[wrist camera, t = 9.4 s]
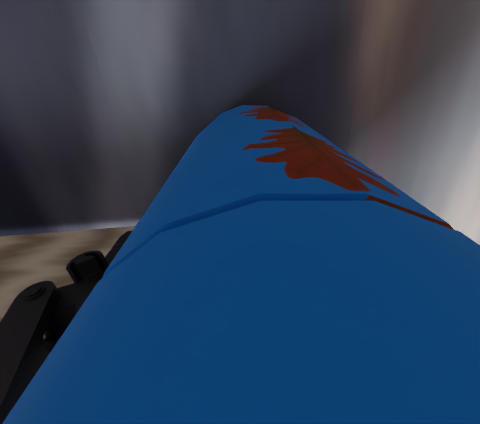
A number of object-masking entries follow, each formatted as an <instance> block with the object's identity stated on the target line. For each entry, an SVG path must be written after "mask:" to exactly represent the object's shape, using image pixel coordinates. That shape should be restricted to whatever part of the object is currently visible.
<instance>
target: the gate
mask: <svg viewBox="0 0 480 424" xmlns="http://www.w3.org/2000/svg"><path fill="white" fill-rule="evenodd" d="M135 227H136V226H133V227H120V228H106V229H93V230H79V231H66V232H52V233H39V234H25V235H12V236H0V322H1V320H2V319H3V317H4V315H5V314H6V312H7V310H8V309H9V307H10V305H11V304H12V302H13V301H14V299H15V298H16V296H17V295H18V294H19V293H20V292H22V291H23V290H24V289H25V288H27V287H29V286H30V285H33V284H35V283H38V282H41V281H52V282H53V283H54V284H55V286H56V287H57V288H59V287H62V286H66V285H69V284H73V283H74V281H73V280H72V278H71V276H70V275H69V273H68V271H67V270H66V266H67V264H68V263H69V262H70V261H71V260H72V259H73V258H75V257H76V256H78V255H80V254H82V253H84V252H88V251H95V250H97V251H101V252H102V254H103V255H104V257H105V256H106V255H107V254H108V252H109V251H110V250H111V248H112V247H113V245H114V244H115V243H116V241H117V240H118V238H119V237H120V236H121V235H123V234H124V233H125V232H127V231H132V230H134V228H135Z"/></svg>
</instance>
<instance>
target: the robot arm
mask: <svg viewBox="0 0 480 424" xmlns="http://www.w3.org/2000/svg"><path fill="white" fill-rule="evenodd" d="M132 231H133V230H132ZM132 231H127V232H125V233H124V234H123V235H121V236H120V237H119V238H118V240H117V241H116V243H115V244H114V245H113V247H112V248H111V250H110V251H109V252H108V254H107V255H106V256H105V257H104V255H103V254H102V252H101V251H97V250H95V251H88V252H84V253H82V254H80V255H78V256H76V257H75V258H73V259H72V260H71V261H70V262H69V263H68V264H67V266H66V270H67V271H68V273H69V275H70V276H71V278H72V280H73V281H74V283H73V284H69V285H66V286H62V287H59V288H57V287H56V286H55V284H54V283H53V282H52V281H41V282H38V283H35V284H33V285H30V286H29V287H27V288H25V289H24V290H23V291H22V292H20V293H19V294H18V295H17V296H16V298H15V299H14V301H13V302H12V304H11V305H10V307H9V309H8V310H7V312H6V314H5V315H4V317H3V319H2V320H1V322H0V424H2V423H3V422H4V420H5V419H6V417H7V416H8V414H9V413H10V411H11V410H12V408H13V407H14V406H15V404H16V403H17V401H18V400H19V398H20V397H21V395H22V394H23V392H24V391H25V389H26V388H27V386H28V385H29V383H30V382H31V380H32V379H33V377H34V376H35V374H36V373H37V372H38V370H39V369H40V367H41V366H42V364H43V363H44V361H45V360H46V358H47V357H48V355H49V354H50V352H51V351H52V349H53V348H54V346H55V345H56V343H57V342H58V340H59V339H60V337H61V336H62V335H63V333H64V332H65V330H66V329H67V327H68V326H69V324H70V323H71V321H72V320H73V318H74V317H75V315H76V314H77V312H78V311H79V309H80V308H81V306H82V305H83V303H84V302H85V301H86V299H87V298H88V296H89V295H90V293H91V292H92V290H93V289H94V287H95V286H96V284H97V283H98V282H99V281H100V280H101V279H102V277H103V275H104V273H105V271H106V269H107V268H108V266H109V265H110V264H111V262H112V261H113V259H114V258H115V256H116V255H117V253H118V252H119V250H120V249H121V247H122V246H123V244H124V243H125V241H126V240H127V238H128V237H129V235H130V234H131V232H132Z"/></svg>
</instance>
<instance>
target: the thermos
mask: <svg viewBox="0 0 480 424" xmlns="http://www.w3.org/2000/svg"><path fill="white" fill-rule="evenodd" d="M2 424H480V245H478V244H477V243H475V242H474V241H473V240H471V239H470V238H468V237H467V236H465V235H464V234H462V233H461V232H459V231H456V230H454V229H453V228H452V227H451V226H450V225H449V224H448V223H447V222H445V221H444V220H442V219H441V218H440V217H438V216H437V215H435V214H434V213H432V212H431V211H429V210H428V209H427V208H425V207H424V206H422V205H421V204H419V203H418V202H417V201H415V200H414V199H412V198H411V197H409V196H408V195H407V194H405V193H404V192H402V191H401V190H399V189H398V188H396V187H395V186H394V185H392V184H391V183H389V182H388V181H386V180H385V179H384V178H382V177H381V176H379V175H378V174H376V173H375V172H374V171H372V170H371V169H369V168H368V167H366V166H365V165H363V164H362V163H361V162H359V161H358V160H356V159H355V158H353V157H352V156H351V155H349V154H348V153H346V152H345V151H343V150H342V149H341V148H339V147H338V146H336V145H335V144H333V143H332V142H330V141H329V140H328V139H326V138H325V137H323V136H322V135H320V134H319V133H318V132H316V131H315V130H313V129H312V128H310V127H309V126H308V125H306V124H305V123H303V122H302V121H300V120H299V119H297V118H295V117H293V116H290V115H288V114H286V113H283V112H281V111H278V110H276V109H273V108H271V107H269V106H266V105H241V106H238V107H236V108H233V109H231V110H228V111H226V112H223V113H221V114H220V115H219V116H218V117H217V118H216V119H215V120H213V121H212V122H211V123H210V124H209V125H208V126H207V127H206V128H205V129H204V130H203V131H202V132H201V133H199V134H198V135H197V136H196V138H195V139H194V141H193V142H192V144H191V145H190V147H189V148H188V150H187V151H186V153H185V154H184V156H183V157H182V159H181V160H180V161H179V163H178V164H177V166H176V167H175V169H174V170H173V172H172V173H171V175H170V176H169V178H168V179H167V181H166V182H165V184H164V185H163V187H162V188H161V190H160V191H159V193H158V194H157V195H156V197H155V198H154V200H153V201H152V203H151V204H150V206H149V207H148V209H147V210H146V212H145V213H144V215H143V216H142V218H141V219H140V221H139V222H138V224H137V225H136V227H135V228H134V230H133V231H132V232H131V234H130V235H129V237H128V238H127V240H126V241H125V243H124V244H123V246H122V247H121V249H120V250H119V252H118V253H117V255H116V256H115V258H114V259H113V261H112V262H111V264H110V265H109V266H108V268H107V269H106V271H105V273H104V275H103V277H102V279H101V280H100V281H99V282H98V283H97V284H96V286H95V287H94V289H93V290H92V292H91V293H90V295H89V296H88V298H87V299H86V301H85V302H84V303H83V305H82V306H81V308H80V309H79V311H78V312H77V314H76V315H75V317H74V318H73V320H72V321H71V323H70V324H69V326H68V327H67V329H66V330H65V332H64V333H63V335H62V336H61V337H60V339H59V340H58V342H57V343H56V345H55V346H54V348H53V349H52V351H51V352H50V354H49V355H48V357H47V358H46V360H45V361H44V363H43V364H42V366H41V367H40V369H39V370H38V372H37V373H36V374H35V376H34V377H33V379H32V380H31V382H30V383H29V385H28V386H27V388H26V389H25V391H24V392H23V394H22V395H21V397H20V398H19V400H18V401H17V403H16V404H15V406H14V407H13V408H12V410H11V411H10V413H9V414H8V416H7V417H6V419H5V420H4V422H3V423H2Z"/></svg>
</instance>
